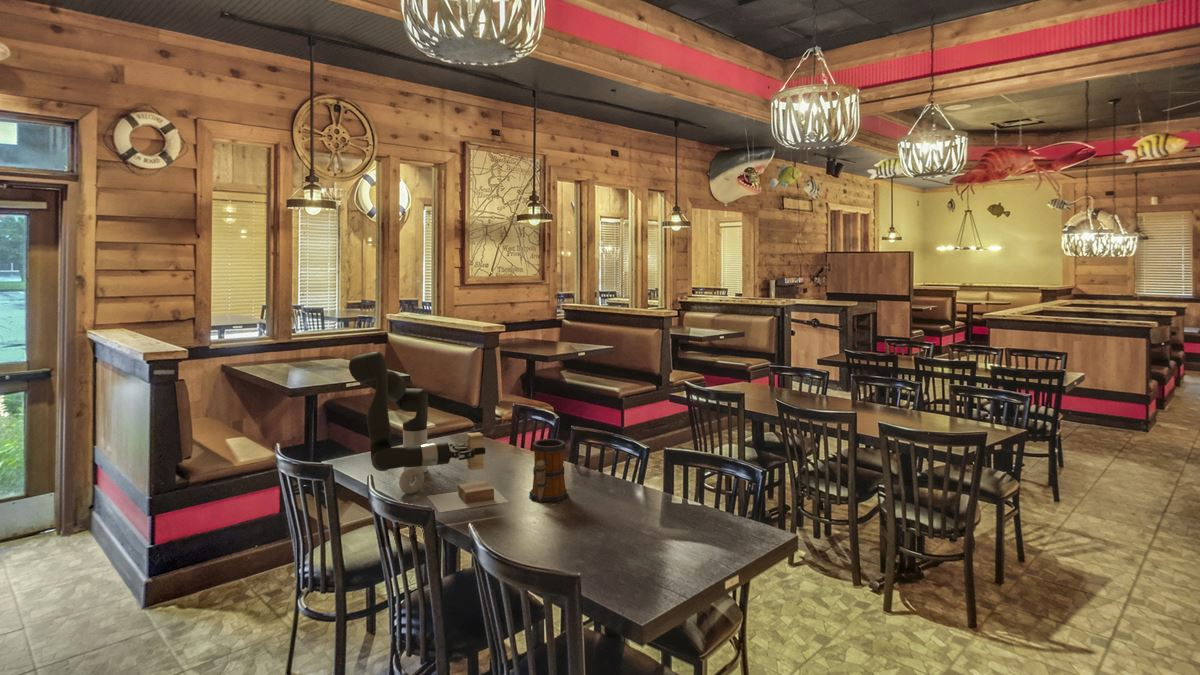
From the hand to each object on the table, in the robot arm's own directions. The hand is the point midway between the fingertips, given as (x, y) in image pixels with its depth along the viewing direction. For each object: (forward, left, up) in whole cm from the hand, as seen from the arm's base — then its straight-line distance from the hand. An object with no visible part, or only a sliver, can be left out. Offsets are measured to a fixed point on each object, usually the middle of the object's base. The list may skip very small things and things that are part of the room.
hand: (482, 448), depth 241 cm
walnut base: (0, -3, -17) cm, 17 cm away
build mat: (0, -6, -18) cm, 19 cm away
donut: (-15, -22, -18) cm, 32 cm away
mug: (+12, +19, -18) cm, 29 cm away
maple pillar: (0, -3, -7) cm, 7 cm away
